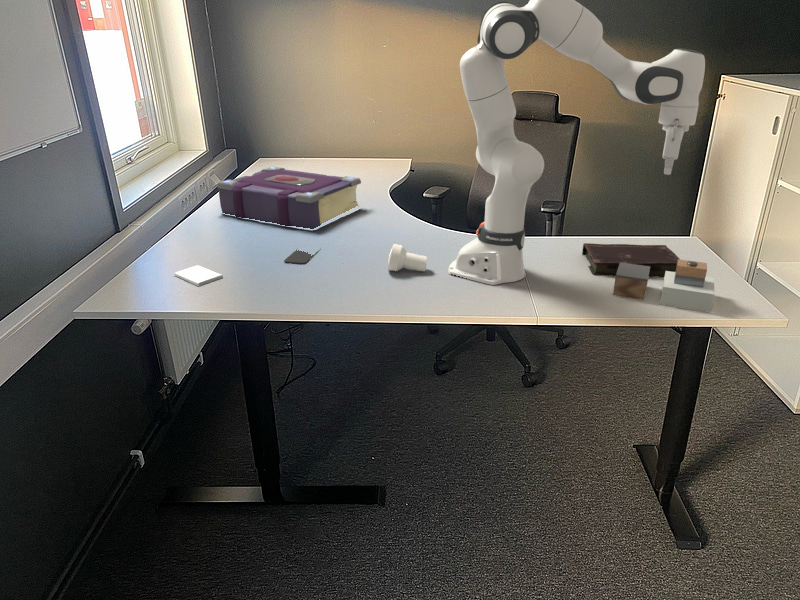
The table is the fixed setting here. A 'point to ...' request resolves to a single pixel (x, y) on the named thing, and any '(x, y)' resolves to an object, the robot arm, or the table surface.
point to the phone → (298, 257)
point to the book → (288, 197)
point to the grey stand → (687, 294)
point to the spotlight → (405, 259)
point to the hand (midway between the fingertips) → (668, 170)
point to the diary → (629, 258)
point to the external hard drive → (198, 275)
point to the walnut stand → (631, 281)
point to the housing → (690, 273)
